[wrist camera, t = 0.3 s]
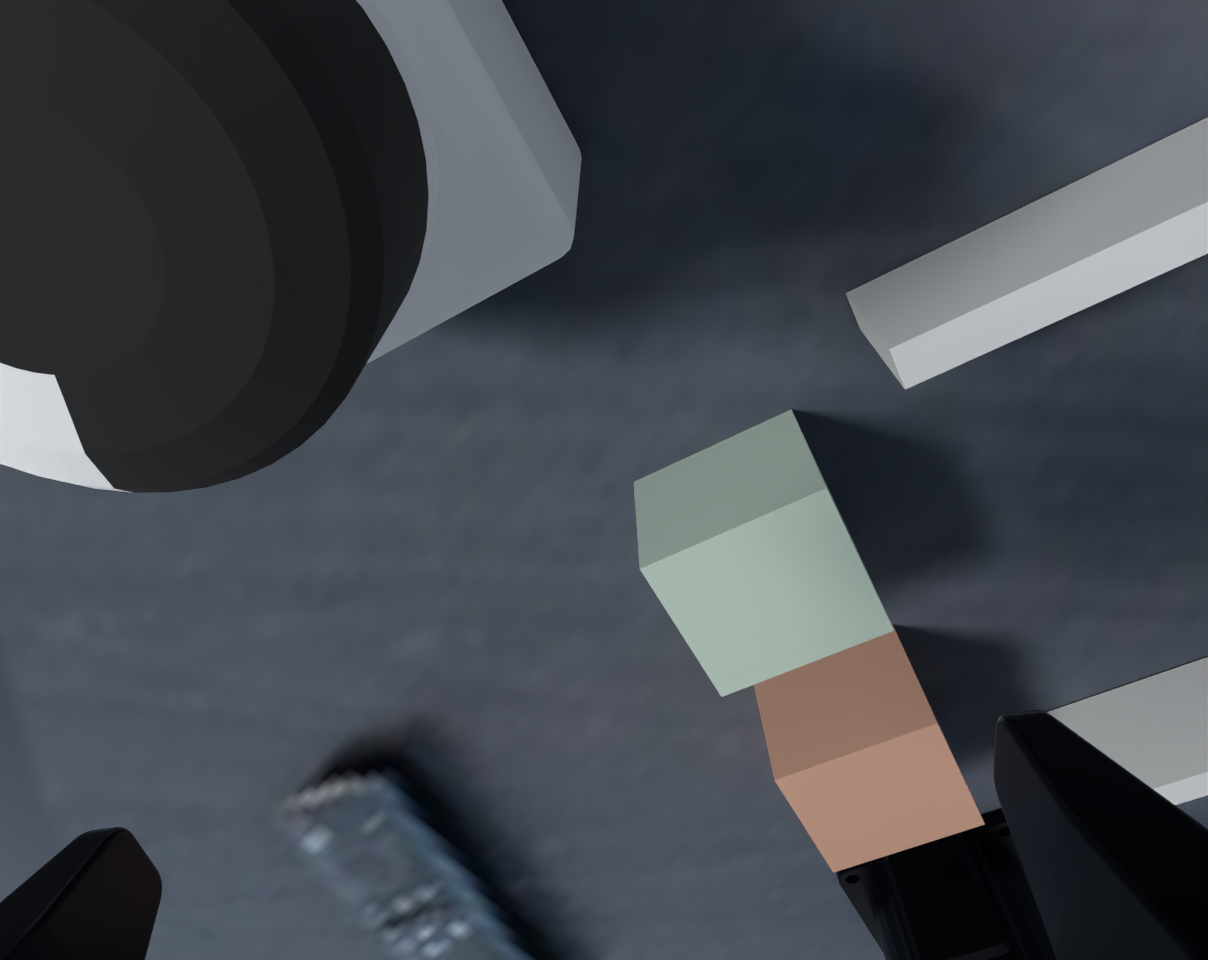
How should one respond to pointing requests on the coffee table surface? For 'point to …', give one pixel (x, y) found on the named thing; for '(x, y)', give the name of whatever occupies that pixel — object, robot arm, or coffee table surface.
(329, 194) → the medicine bottle
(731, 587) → the pale green cube
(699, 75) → the coffee table surface
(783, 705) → the salmon pink cube
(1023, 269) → the box
